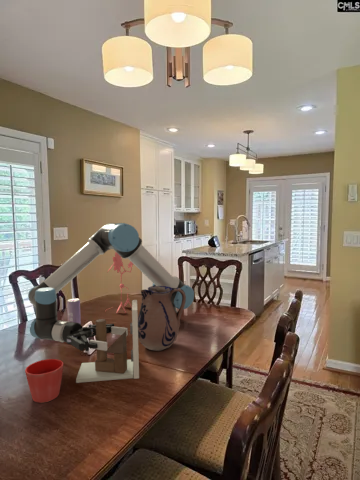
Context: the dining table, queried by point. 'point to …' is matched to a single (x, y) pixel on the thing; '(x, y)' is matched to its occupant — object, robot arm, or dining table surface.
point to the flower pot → (44, 379)
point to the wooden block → (110, 351)
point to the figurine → (117, 266)
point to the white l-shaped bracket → (88, 369)
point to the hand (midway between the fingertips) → (117, 338)
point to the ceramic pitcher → (159, 317)
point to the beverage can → (73, 310)
